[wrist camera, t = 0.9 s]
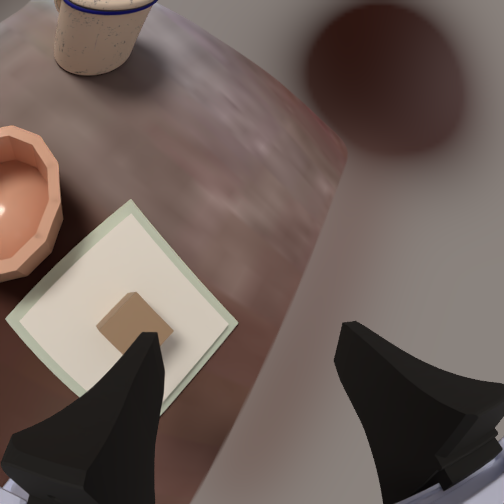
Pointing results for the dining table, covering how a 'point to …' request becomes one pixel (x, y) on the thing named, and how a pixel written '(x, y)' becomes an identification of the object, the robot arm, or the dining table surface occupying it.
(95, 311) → the cover plate
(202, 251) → the dining table surface
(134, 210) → the mat
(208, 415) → the dining table surface
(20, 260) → the bowl
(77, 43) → the teacup with lid
